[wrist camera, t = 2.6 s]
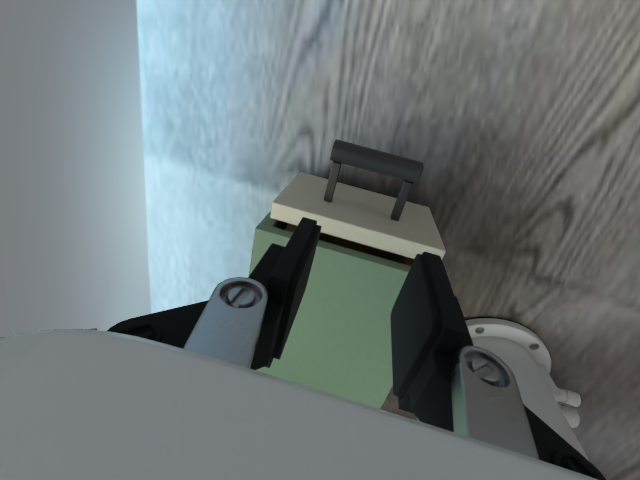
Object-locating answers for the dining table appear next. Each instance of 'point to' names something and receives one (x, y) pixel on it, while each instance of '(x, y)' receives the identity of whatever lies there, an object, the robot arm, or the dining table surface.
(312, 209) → the drawer
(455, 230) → the dining table surface
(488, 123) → the dining table surface
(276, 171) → the dining table surface
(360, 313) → the cabinet
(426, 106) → the dining table surface
